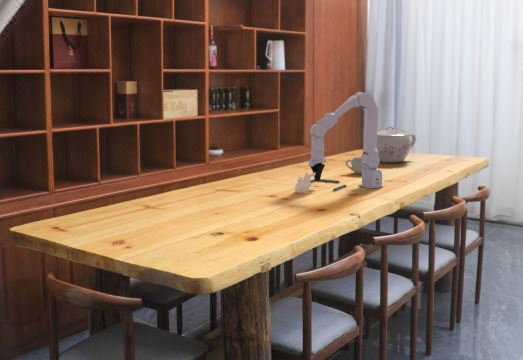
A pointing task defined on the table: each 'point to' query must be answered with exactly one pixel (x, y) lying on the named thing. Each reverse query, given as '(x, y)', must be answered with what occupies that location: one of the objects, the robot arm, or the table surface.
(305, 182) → the white figurine
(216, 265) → the table surface
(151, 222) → the table surface
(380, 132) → the chamber pot
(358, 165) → the teacup
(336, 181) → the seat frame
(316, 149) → the robot arm
